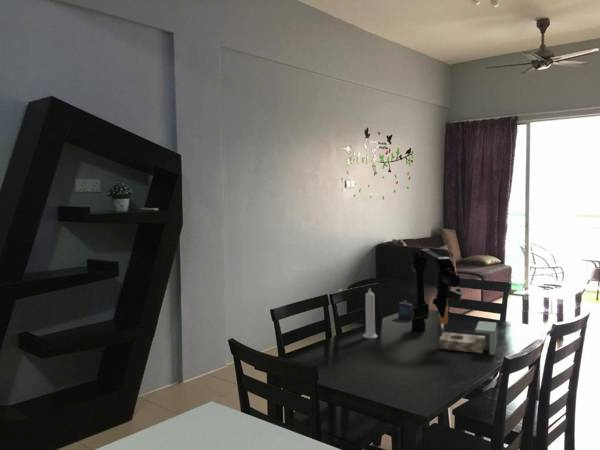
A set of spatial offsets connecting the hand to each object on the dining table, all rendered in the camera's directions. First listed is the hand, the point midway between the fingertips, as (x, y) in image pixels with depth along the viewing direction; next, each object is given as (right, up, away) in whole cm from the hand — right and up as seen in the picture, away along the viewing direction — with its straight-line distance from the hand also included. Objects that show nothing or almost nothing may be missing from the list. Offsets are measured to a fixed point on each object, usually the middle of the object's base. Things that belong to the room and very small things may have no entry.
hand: (443, 316), depth 236 cm
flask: (-7, -11, +51) cm, 52 cm away
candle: (-32, -13, +16) cm, 38 cm away
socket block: (+8, -13, -3) cm, 16 cm away
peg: (0, -3, 0) cm, 3 cm away
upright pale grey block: (+18, -14, -7) cm, 23 cm away
